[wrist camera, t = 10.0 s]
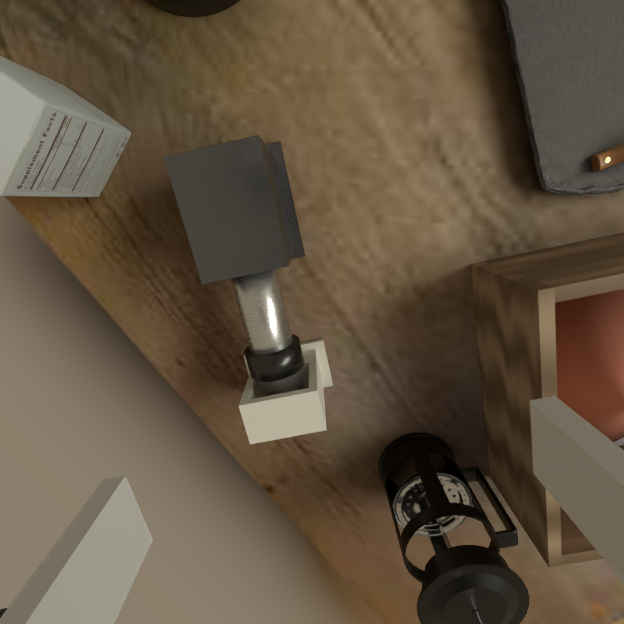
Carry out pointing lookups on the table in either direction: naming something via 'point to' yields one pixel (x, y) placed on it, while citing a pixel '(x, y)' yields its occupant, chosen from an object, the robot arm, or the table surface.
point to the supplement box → (53, 138)
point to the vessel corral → (533, 371)
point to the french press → (448, 560)
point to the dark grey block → (236, 208)
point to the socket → (289, 401)
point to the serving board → (571, 89)
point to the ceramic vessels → (592, 359)
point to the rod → (268, 334)
